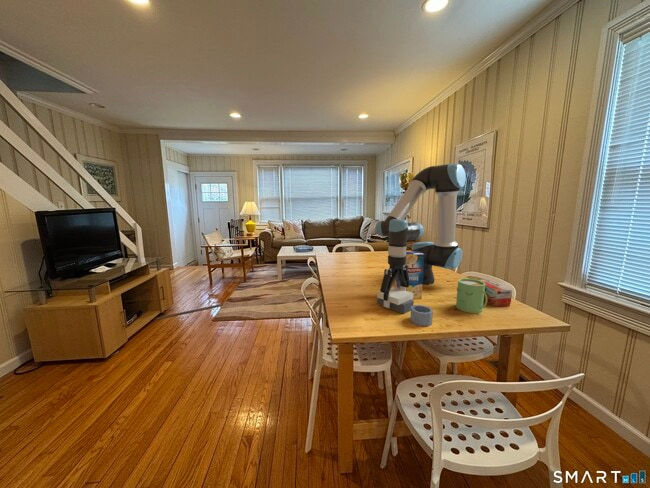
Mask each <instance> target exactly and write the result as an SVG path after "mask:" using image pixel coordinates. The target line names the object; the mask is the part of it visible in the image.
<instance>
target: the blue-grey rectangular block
mask: <svg viewBox="0 0 650 488" xmlns="http://www.w3.org/2000/svg"><path fill="white" fill-rule="evenodd" d="M376 299H377V300H376V301H377V302H376V304H377V305H379V306H382V307H384V300H383V299H380V298H377V297H376ZM414 302H415V301H414V299H411V300H409V301H407V302H404V303H402V304H400V305H397V304H394V303H391V302H390V308H388V309H389V310H392V311H395V312H397V313H400V314H403V315H405V314H407V313H409V312H411V306H414Z"/></svg>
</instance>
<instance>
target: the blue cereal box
mask: <svg viewBox="0 0 650 488" xmlns="http://www.w3.org/2000/svg"><path fill="white" fill-rule="evenodd" d="M405 256H406V264H405V265H407V266H408V276H409V282H410V284H409V287H406V291H408V292H411V293H413V299H412V300H422V296H423V285H424V284H423V268H424V254H423V253H420V252H418V251H413V252H412V251H406V255H405ZM406 282H407V281H406ZM400 286H401V283H400V281H399V278H398V277H396V279H395V280H394V288H398V289H400Z"/></svg>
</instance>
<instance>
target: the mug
mask: <svg viewBox="0 0 650 488" xmlns="http://www.w3.org/2000/svg"><path fill="white" fill-rule="evenodd" d="M479 280H480V279H474V278H459V279H458V280H457V288H456V302H455V307H456V309H458V310H459V311H462V312H465V313H470V314H481V313H482V312H483V309H484V308H485V307H486V306H487V304H488V303H487V296H486V293H485V292H484V291H485V283H484V282H482V281H479ZM484 295H485V299H486V301H485V302H484V301H483V300H484Z"/></svg>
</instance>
